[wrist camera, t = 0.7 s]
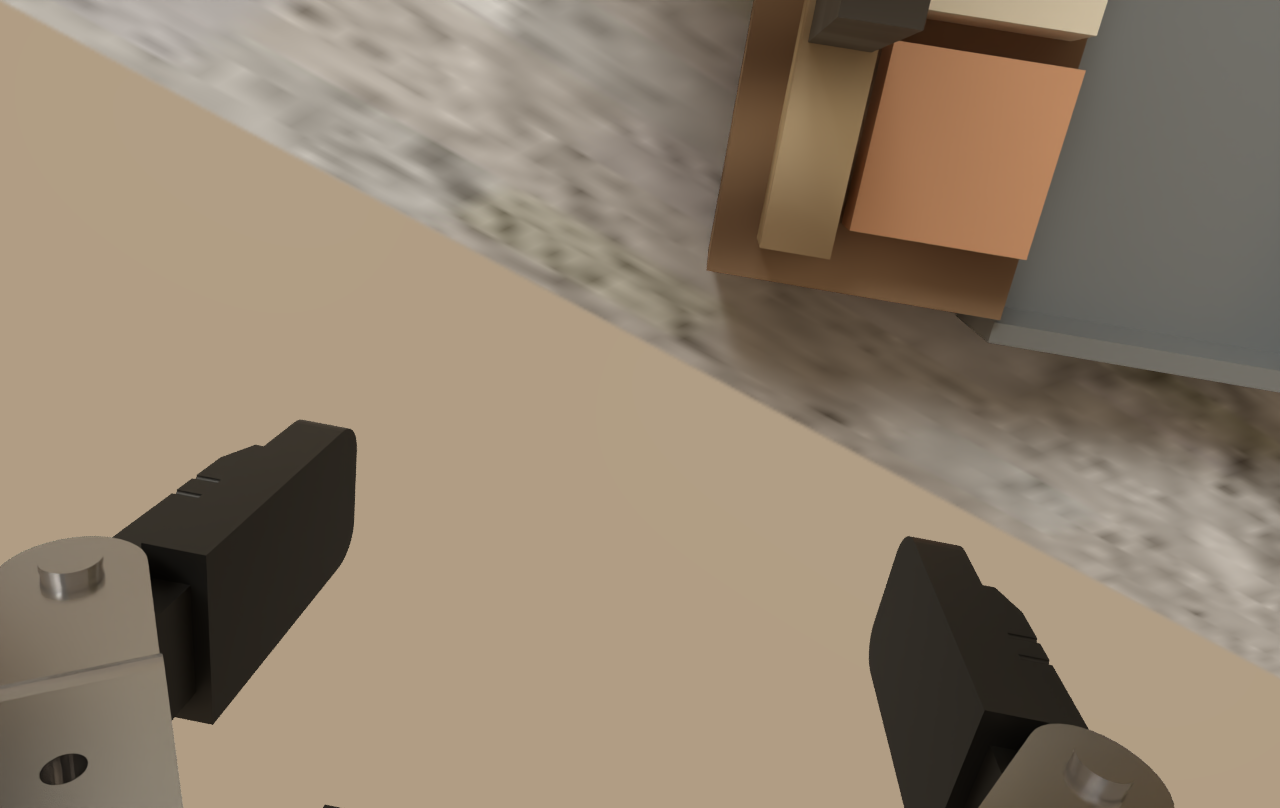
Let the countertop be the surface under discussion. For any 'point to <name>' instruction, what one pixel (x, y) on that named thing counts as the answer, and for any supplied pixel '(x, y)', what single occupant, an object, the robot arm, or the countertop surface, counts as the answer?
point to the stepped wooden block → (855, 256)
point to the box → (1163, 201)
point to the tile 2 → (1025, 16)
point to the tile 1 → (959, 148)
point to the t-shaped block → (826, 116)
